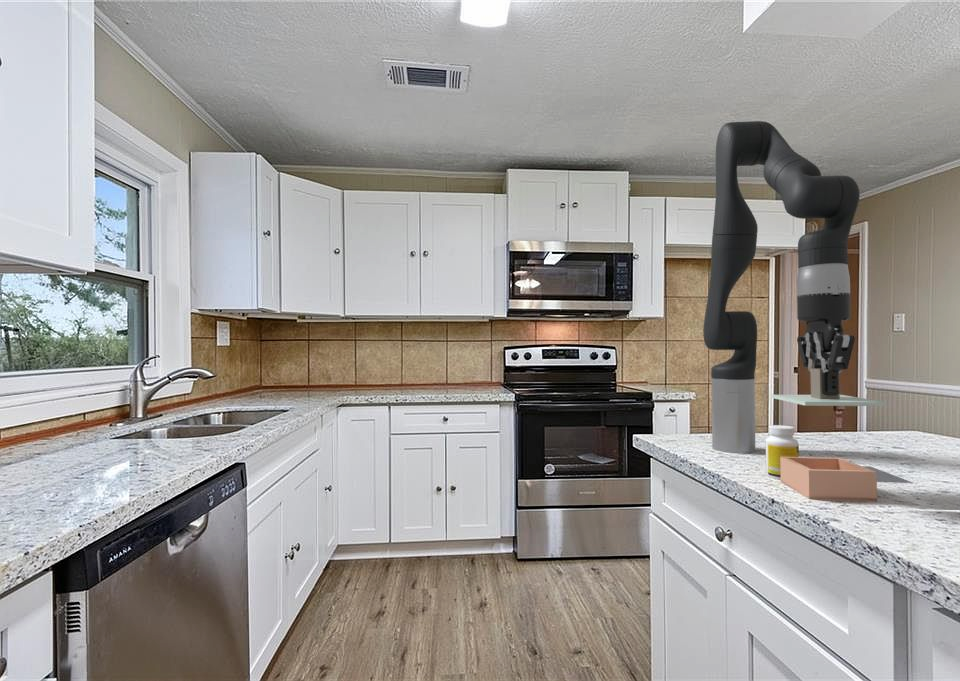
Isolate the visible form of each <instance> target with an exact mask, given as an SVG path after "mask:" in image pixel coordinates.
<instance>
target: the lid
mask: <svg viewBox="0 0 960 681" xmlns="http://www.w3.org/2000/svg"><path fill="white" fill-rule="evenodd" d="M809 372H810V394H771V399H776V400H780V401H783V402H788V403H792V404H796V405H800V406H804V407H805V406H807V407H809V406H810V407H811V406H812V407H814V406H817V407H819V406H821V407H822V406H825V407H827V406H828V407H834V406H835V407H836V406H837V407H841V406H842V407H843V406H844V407H888V402H887V401H882V400H877V399H876V400H875V399H870V398H864V397H856V396H852V395H844V394H841V393H840V387H839V394H838V395H836V396H827V395H824V394H823V393H822V373H823V372H822V368H810V371H809ZM838 380H839V381H840V373H838Z"/></svg>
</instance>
